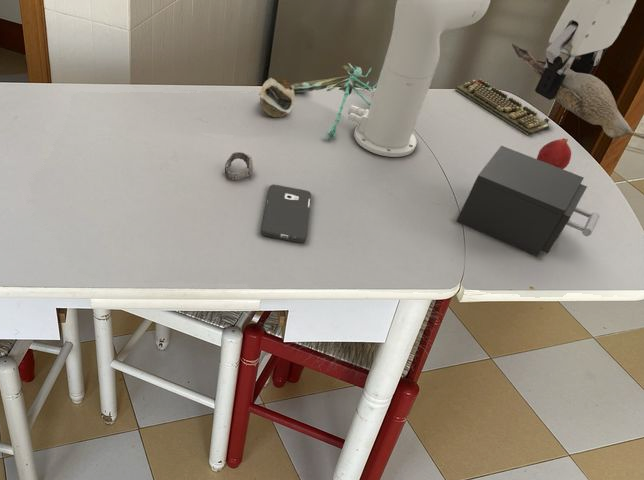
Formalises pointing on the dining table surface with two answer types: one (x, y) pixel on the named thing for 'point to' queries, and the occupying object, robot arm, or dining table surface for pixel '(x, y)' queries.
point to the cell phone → (286, 213)
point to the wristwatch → (243, 173)
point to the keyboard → (503, 106)
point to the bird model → (585, 98)
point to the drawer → (565, 221)
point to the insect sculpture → (331, 82)
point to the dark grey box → (519, 200)
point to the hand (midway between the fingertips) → (558, 90)
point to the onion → (556, 153)
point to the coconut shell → (277, 96)
